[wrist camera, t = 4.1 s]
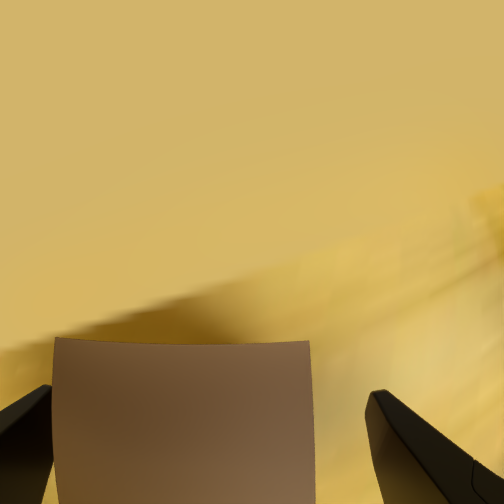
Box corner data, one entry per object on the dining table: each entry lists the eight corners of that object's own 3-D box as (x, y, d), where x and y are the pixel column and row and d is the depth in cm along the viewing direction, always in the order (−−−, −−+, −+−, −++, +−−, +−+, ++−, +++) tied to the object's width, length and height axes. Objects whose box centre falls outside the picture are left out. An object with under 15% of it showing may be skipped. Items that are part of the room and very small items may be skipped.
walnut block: (284, 470, 12) (313, 580, 3) (180, 469, 12) (68, 549, 3) (281, 373, 14) (309, 340, 5) (178, 374, 14) (55, 337, 5)
